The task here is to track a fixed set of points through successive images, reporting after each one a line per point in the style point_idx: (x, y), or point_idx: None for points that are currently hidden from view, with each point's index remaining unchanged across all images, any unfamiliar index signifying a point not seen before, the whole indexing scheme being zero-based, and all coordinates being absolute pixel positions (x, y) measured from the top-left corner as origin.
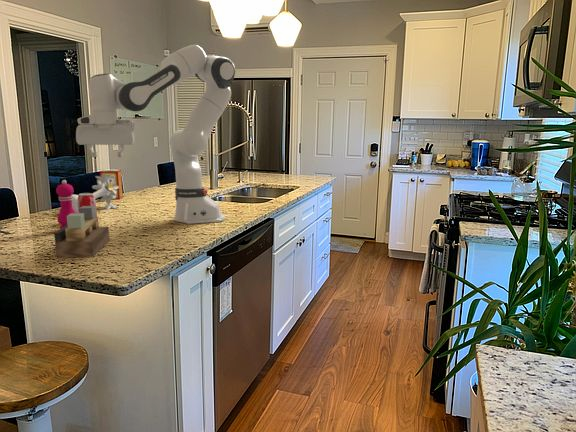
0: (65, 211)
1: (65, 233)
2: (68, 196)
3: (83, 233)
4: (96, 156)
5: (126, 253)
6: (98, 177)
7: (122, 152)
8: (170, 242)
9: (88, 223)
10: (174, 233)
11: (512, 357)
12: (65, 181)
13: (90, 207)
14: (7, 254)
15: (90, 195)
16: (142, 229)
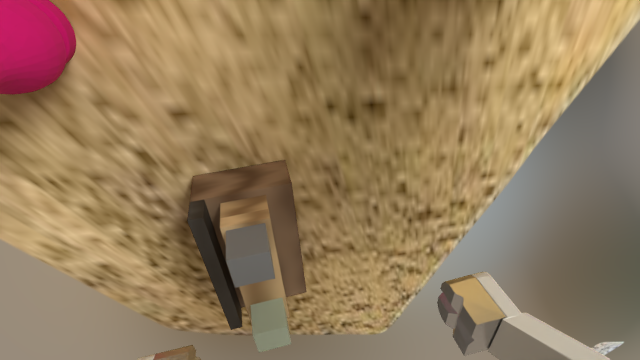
0: (3, 90)
1: (233, 295)
2: None
3: (286, 300)
4: (194, 352)
5: (358, 242)
6: None
7: (515, 314)
8: (443, 166)
9: (282, 284)
10: (459, 77)
11: (601, 347)
12: None
13: (267, 273)
14: (95, 285)
15: None
16: (354, 18)
